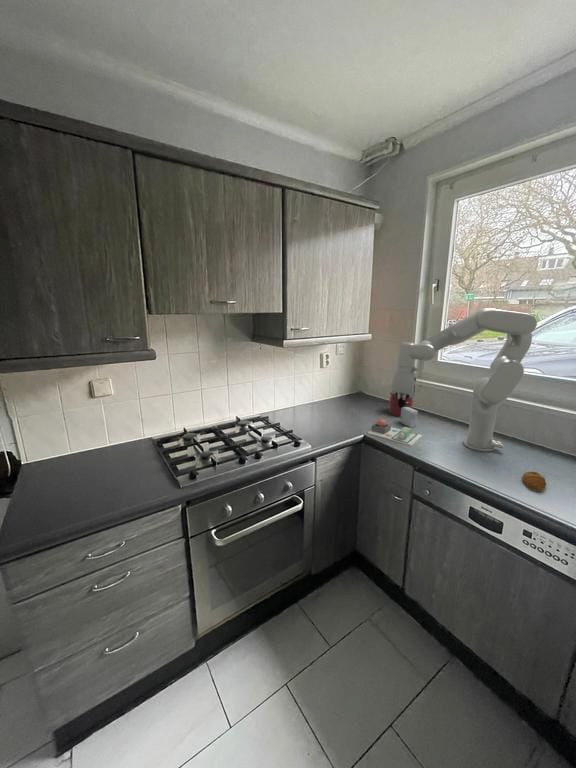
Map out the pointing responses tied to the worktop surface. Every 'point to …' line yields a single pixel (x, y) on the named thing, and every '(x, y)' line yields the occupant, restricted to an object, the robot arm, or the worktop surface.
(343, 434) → the worktop surface
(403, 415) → the medicine box
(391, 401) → the canister
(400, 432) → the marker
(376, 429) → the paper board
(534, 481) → the pastry
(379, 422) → the button
